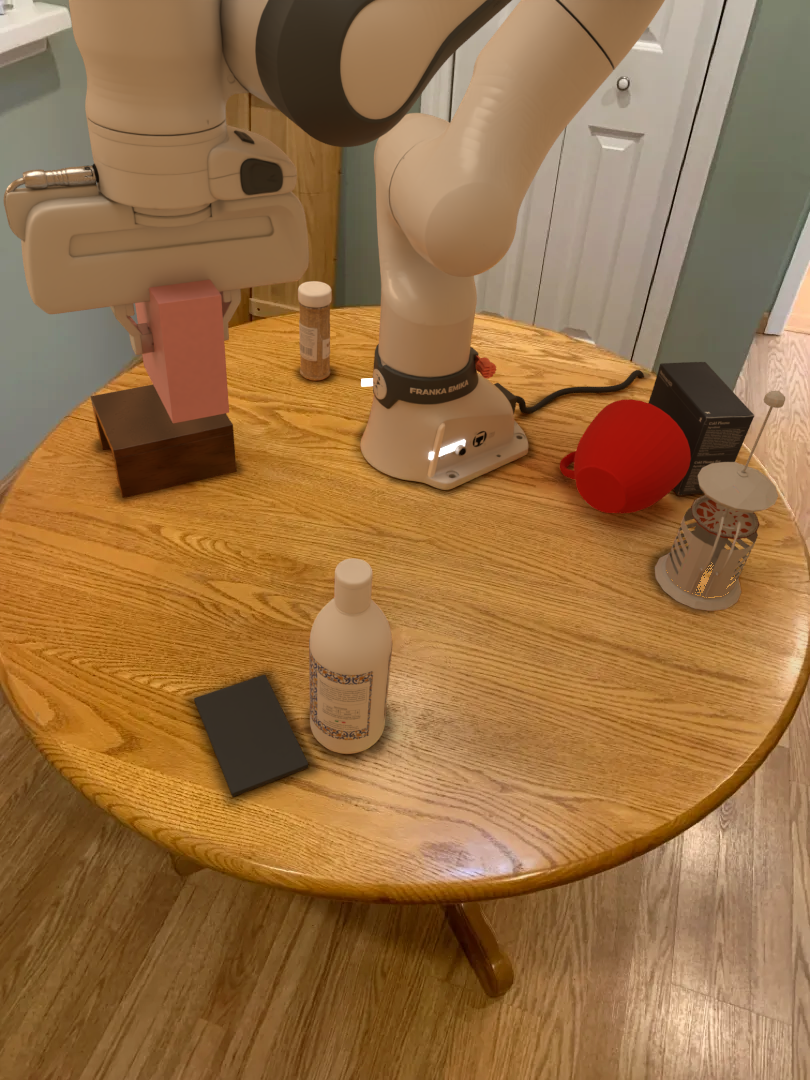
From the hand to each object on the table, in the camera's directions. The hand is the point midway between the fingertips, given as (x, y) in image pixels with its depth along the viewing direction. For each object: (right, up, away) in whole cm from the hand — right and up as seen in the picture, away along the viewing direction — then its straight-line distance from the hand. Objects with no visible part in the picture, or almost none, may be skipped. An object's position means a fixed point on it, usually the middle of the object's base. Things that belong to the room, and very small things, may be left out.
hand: (181, 344), depth 66 cm
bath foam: (+12, -33, +12) cm, 37 cm away
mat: (+3, -33, +11) cm, 35 cm away
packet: (0, -3, +3) cm, 4 cm away
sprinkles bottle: (+4, +9, +58) cm, 58 cm away
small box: (+54, -5, +47) cm, 72 cm away
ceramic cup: (+39, -10, +34) cm, 53 cm away
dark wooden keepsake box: (-12, -5, +40) cm, 42 cm away
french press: (+51, -21, +30) cm, 62 cm away
